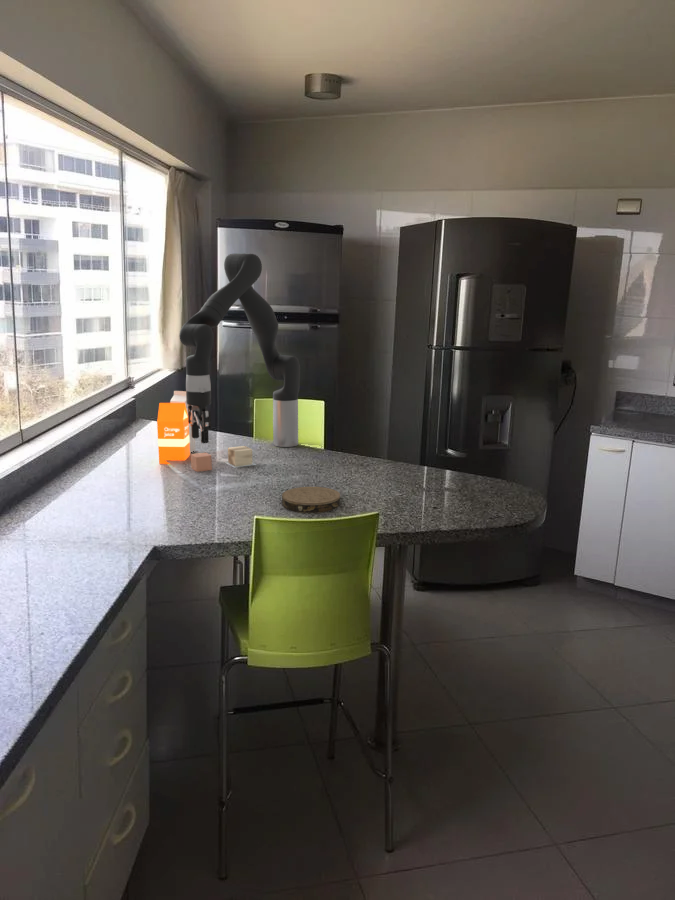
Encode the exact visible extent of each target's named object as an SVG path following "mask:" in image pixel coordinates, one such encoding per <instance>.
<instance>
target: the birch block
mask: <svg viewBox="0 0 675 900" xmlns="http://www.w3.org/2000/svg"><path fill="white" fill-rule="evenodd" d="M227 460H228V461H227V462H228V463H230V464H232V465H233V466H235V467H236V466H243V465H251V464H253V463H254V462H253V449H252V448H251V447H248V446H247V445H240V446H232V447H231V446H230V447H227ZM252 462H253V463H252ZM251 466H252V465H251ZM243 467H244V466H243ZM236 468H237V467H236Z"/></svg>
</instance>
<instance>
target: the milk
mask: <svg viewBox="0 0 675 900" xmlns="http://www.w3.org/2000/svg"><path fill="white" fill-rule="evenodd" d="M169 403H185V405H186V409H187V414H188V404H187V402H186V390H184V391H183V390H173V396H172V397H171V399H170V401H169ZM191 427H192V426H190V423H189V440H190V442H189V443H190V454H192V453H194V452H196V438H192V431H191ZM193 451H194V452H193ZM191 452H192V453H191Z"/></svg>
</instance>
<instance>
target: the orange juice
mask: <svg viewBox="0 0 675 900" xmlns="http://www.w3.org/2000/svg"><path fill="white" fill-rule="evenodd" d="M156 425H157V426H156V427H157V428H156V429H157V446H158V448H157V449H158V462H159V463H158V464H159V465H171V463H170V462H168V461H186V460H187V459H188V458H189V457H191V453H190V443H189V442H190V440H189V423H188V414H187V409H186V405H185V403H170V402H159V404H158V412H157V420H156Z"/></svg>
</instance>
